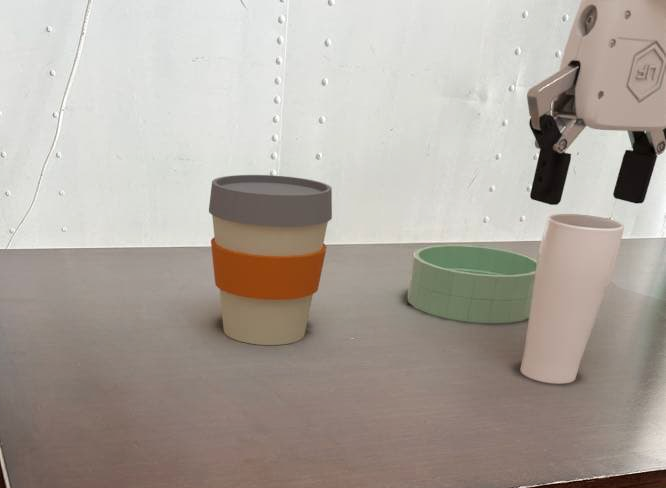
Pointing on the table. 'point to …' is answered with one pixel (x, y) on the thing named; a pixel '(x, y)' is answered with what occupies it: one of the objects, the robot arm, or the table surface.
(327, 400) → the table surface
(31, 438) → the table surface
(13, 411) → the table surface
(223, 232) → the reusable coffee cup
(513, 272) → the green plastic ring
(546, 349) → the drinking glass
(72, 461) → the table surface
